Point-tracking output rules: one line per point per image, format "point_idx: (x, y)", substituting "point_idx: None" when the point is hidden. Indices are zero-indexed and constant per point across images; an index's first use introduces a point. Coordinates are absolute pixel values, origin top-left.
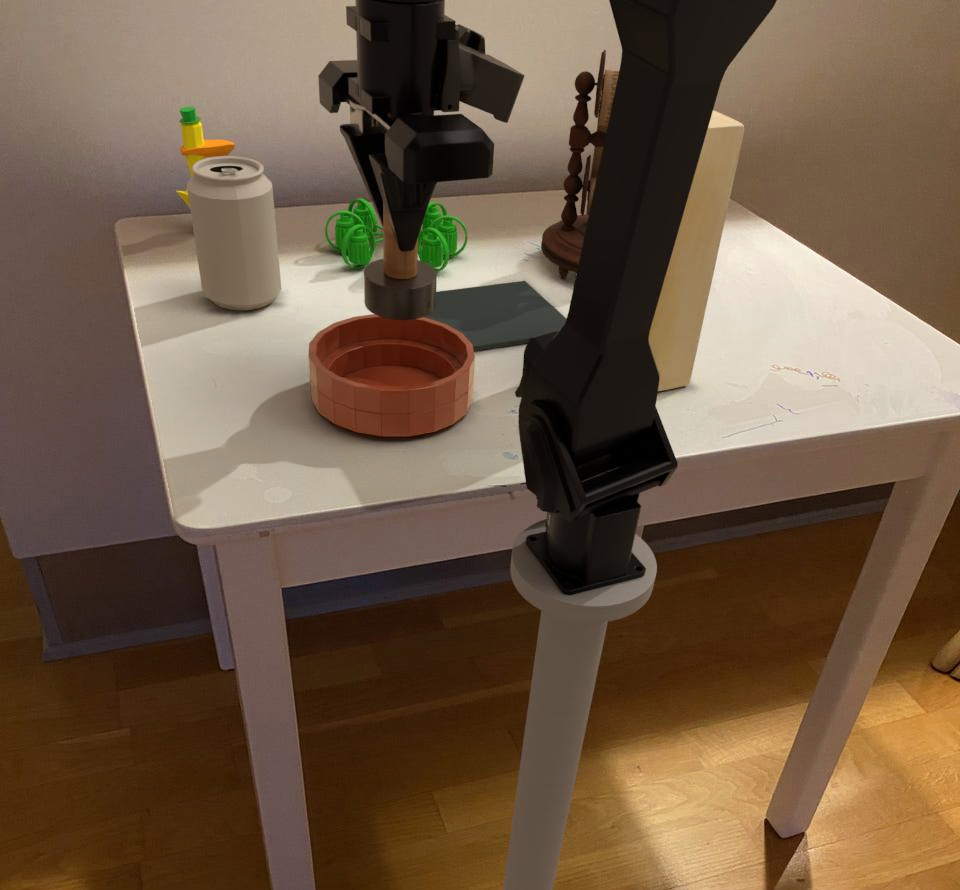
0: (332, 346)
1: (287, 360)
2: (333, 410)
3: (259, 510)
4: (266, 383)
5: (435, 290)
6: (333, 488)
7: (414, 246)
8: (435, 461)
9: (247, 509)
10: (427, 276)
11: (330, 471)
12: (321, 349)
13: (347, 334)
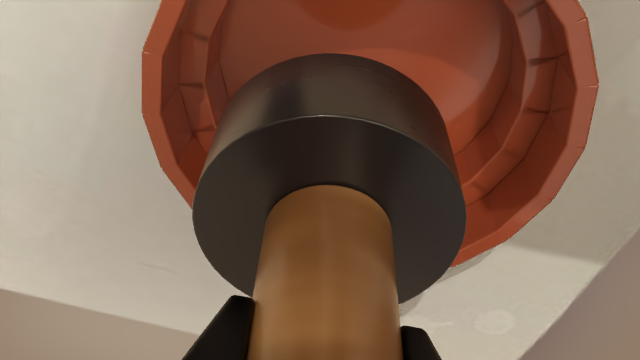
0: (203, 160)
1: (109, 149)
2: None
3: (507, 346)
4: (186, 213)
5: (432, 127)
6: (538, 272)
7: (431, 342)
8: (613, 119)
9: (495, 353)
10: (407, 174)
11: (498, 257)
12: None
13: (179, 126)
